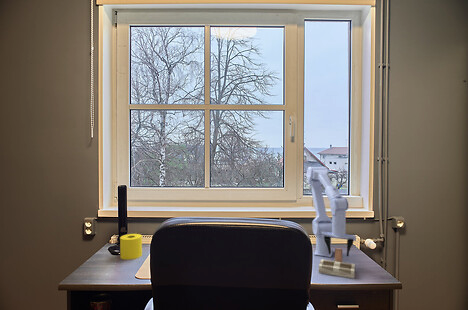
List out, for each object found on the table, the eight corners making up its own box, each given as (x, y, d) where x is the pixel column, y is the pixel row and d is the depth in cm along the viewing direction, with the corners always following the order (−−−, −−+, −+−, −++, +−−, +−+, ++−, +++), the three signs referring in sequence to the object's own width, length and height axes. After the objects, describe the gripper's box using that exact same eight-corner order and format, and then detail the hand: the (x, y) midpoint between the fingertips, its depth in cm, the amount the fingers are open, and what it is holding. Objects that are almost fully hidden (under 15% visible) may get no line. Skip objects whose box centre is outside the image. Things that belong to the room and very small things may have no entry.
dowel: (335, 262, 138) (335, 247, 137) (342, 264, 136) (342, 248, 136) (334, 265, 135) (334, 250, 135) (341, 266, 133) (342, 251, 133)
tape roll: (125, 252, 152) (125, 233, 152) (144, 252, 151) (144, 233, 151) (116, 259, 142) (116, 239, 142) (137, 259, 141) (137, 239, 141)
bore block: (321, 265, 134) (321, 259, 134) (354, 270, 129) (354, 264, 129) (318, 272, 127) (318, 265, 127) (354, 278, 121) (354, 271, 121)
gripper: (321, 225, 134) (320, 255, 135) (355, 228, 129) (355, 259, 129) (323, 221, 141) (322, 250, 141) (356, 224, 135) (356, 254, 135)
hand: (338, 254), depth 135 cm, fingers open, 7 cm apart
